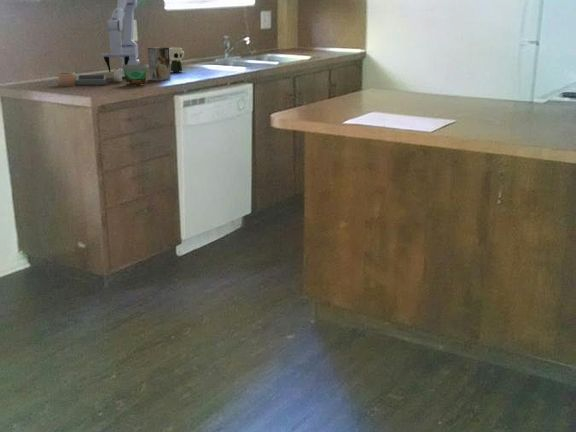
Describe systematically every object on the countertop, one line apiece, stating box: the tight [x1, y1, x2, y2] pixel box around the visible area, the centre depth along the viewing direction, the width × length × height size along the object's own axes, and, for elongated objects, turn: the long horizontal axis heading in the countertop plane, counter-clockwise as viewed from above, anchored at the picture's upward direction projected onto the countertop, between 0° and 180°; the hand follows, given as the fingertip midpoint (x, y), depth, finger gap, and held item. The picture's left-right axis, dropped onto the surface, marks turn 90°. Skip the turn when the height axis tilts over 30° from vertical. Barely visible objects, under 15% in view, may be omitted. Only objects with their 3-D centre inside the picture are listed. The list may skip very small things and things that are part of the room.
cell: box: [113, 66, 123, 82], centre depth 370 cm, size 4×4×7 cm
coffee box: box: [147, 46, 171, 81], centre depth 375 cm, size 9×6×16 cm
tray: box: [76, 74, 107, 86], centre depth 365 cm, size 14×20×2 cm
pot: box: [57, 71, 77, 87], centre depth 353 cm, size 8×8×6 cm
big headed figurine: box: [168, 47, 185, 73], centre depth 406 cm, size 11×7×13 cm, turn 129°
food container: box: [121, 63, 149, 86], centre depth 355 cm, size 12×6×10 cm, turn 117°
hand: (117, 71), depth 370 cm, fingers open, 7 cm apart
